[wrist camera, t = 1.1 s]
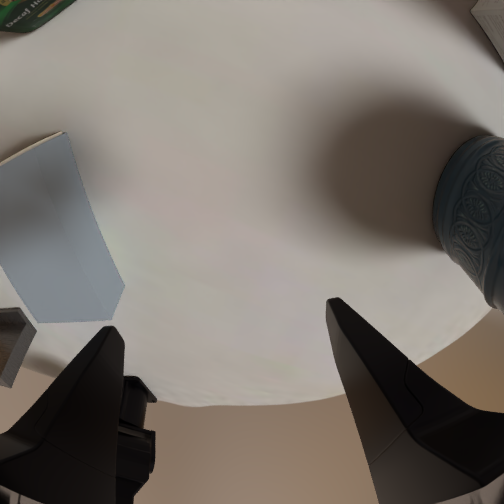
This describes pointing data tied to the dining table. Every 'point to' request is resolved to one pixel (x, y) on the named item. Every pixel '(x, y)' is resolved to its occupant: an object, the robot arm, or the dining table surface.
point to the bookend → (13, 343)
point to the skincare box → (491, 21)
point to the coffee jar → (28, 13)
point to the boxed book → (54, 237)
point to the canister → (474, 214)
